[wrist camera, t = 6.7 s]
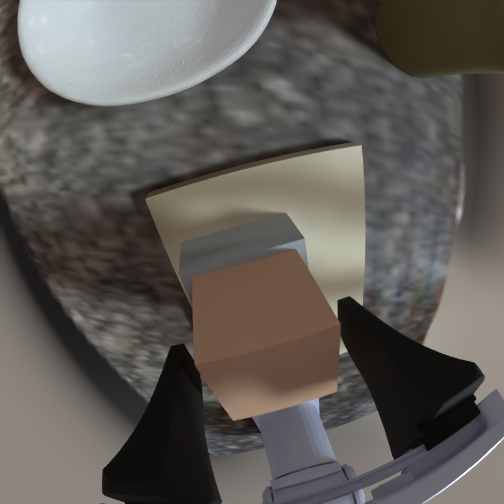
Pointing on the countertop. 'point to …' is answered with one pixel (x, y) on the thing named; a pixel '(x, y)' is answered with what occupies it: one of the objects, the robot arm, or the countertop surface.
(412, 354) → the robot arm
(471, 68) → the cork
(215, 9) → the spoon rest
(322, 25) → the countertop surface
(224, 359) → the terracotta block
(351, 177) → the baseboard
